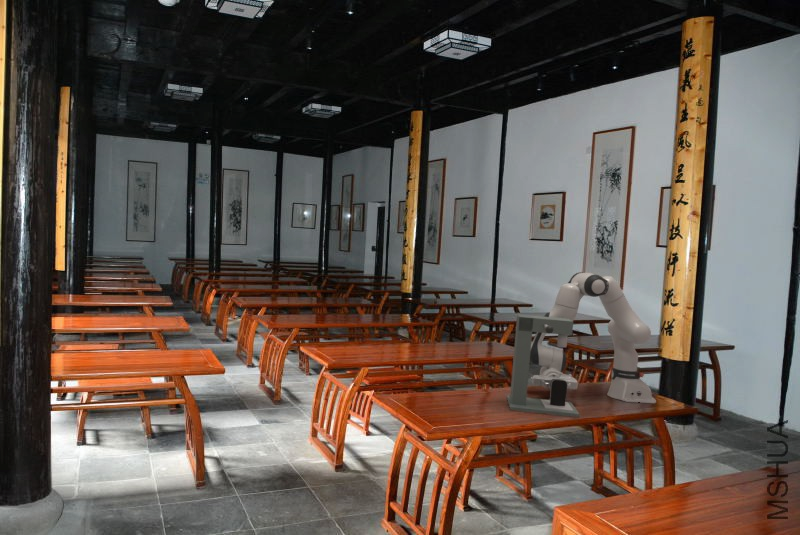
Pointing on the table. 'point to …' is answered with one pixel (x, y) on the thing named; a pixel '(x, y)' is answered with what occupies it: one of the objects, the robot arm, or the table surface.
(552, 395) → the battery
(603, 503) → the table surface
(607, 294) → the robot arm
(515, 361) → the press
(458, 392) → the table surface
